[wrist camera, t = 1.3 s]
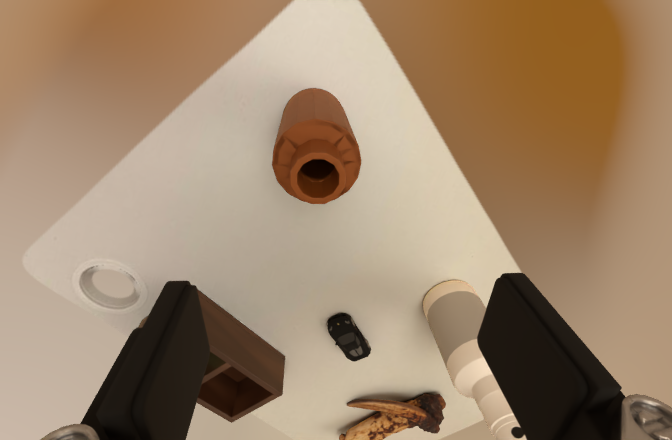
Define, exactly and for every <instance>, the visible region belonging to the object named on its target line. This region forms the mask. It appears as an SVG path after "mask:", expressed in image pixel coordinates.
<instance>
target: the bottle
mask: <svg viewBox="0 0 672 440" xmlns="http://www.w3.org/2000/svg"><path fill="white" fill-rule="evenodd" d="M360 166H361V157H360V151H359V146H358V144H357V141H356V139H355V136H354V134H353V131H352V129H351V126H350V124H349V121H348V119H347V116H346V114H345V111H344V109H343V107H342V106H341V104H340V102H339V101H338V100H337V98H336V97H335V96H333V95H332V94H331V93H329V92H327V91H325V90H322V89H317V88H310V89H305V90H302V91H300V92H298V93H297V94H295V95H294V96H293V97H292V98H291V99H290V100H289V102H288V103H287V105H286V107H285V109H284V112H283V115H282V119H281V123H280V127H279V131H278V135H277V139H276V142H275V146H274V151H273V162H272V167H273V170H274V173H275V176H276V178H277V181H278V183H279V184H280V185H281V186H282V187H283V188H284V189H285V191H286V192H287V193H289V194H290V195H292V196H294V197H296V198H298V199H299V200H301V201H304V202H308V203H311V204H325V203H327V202H329V201H331V200H335V199H337V198H338V197H340V196H341V195H343V194H344V193H346V192H347V191H348V190H349V189H350V188H351V187H352V185H353V184H354V182H355V181H356V179H357V178H358V175H359V170H360Z"/></svg>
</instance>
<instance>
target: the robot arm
mask: <svg viewBox="0 0 672 440" xmlns="http://www.w3.org/2000/svg"><path fill="white" fill-rule="evenodd" d="M477 343H478V347H479V349H480V351H481V353H482V355H483V357H484V359H485V360H486V362H487V364H488V366H489V368H490V370H491V372H492V374H493V376H494V378H495V380H496V381H497V383H498V385H499V387H500V389H501V391H502V393H503V395H504V397H505V399H506V401H507V402H508V404H509V406H510V408H511V410H512V412H513V414H514V416H515V418H516V420H517V422H518V424H519V425H520V427H521V429H522V431H523V433H524V435H525V437H526V439H527V440H672V408H671V407H670V406H668V405H666V404H664V403H662V402H661V401H659V400H656V399H654V398H651V397H648V396H645V395H638V394H635V395H629V396H627V397H625V396H624V395H623V393H622V392H621V391H620V390H621V386H620V385H619V384H618V383H617V382H616V380H615V379H614V378H613V377H612V376H611V374H610V373H609V372H608V371H607V370H606V369H605V367H604V366H603V365H602V364H601V363H600V362H599V360H598V359H597V358H596V357H595V356H594V354H592V352H591V351H590V350H589V349H588V348H587V346H586V345H585V344H584V343H583V342H582V340H581V339H580V338H579V337H578V336H577V335H576V334H575V332H574V331H573V330H572V329H571V328H570V327H569V325H568V324H567V323H566V322H565V321H564V320H563V318H562V317H561V316H560V315H559V314H558V313H557V311H556V310H555V309H554V308H553V307H552V305H551V304H550V303H549V302H548V301H547V299H546V298H545V297H544V296H543V295H542V294H541V293H540V291H539V290H538V289H537V288H536V287H535V286H534V284H533V283H532V282H531V281H530V280H529V278H528V277H527V276H526V275H525V274H523V273H505V274H502V275H501V277H500V278H498V279H497V280H496V282H495V284H494V288H493V291H492V294H491V297H490V300H489V303H488V306H487V309H486V312H485V315H484V318H483V321H482V324H481V327H480V330H479V333H478V336H477ZM209 356H210V345H209V341H208V336H207V332H206V327H205V323H204V318H203V314H202V309H201V305H200V300H199V296H198V291H197V288H196V286H191V284H190V282H189V281H168V282H167V283H166V284H165V286H164V288H163V290H162V292H161V293H160V295H159V297H158V299H157V301H156V303H155V305H154V307H153V308H152V310H151V312H150V314H149V316H148V318H147V320H146V321H145V323H144V325H143V327H140V328H136V329H135V330H133V332H132V333H131V334H130V336H129V338H128V340H127V341H126V343H125V345H124V347H123V348H122V350H121V352H120V354H119V356H118V357H117V359H116V361H115V363H114V365H113V366H112V368H111V370H110V372H109V374H108V375H107V377H106V379H105V381H104V382H103V384H102V386H101V388H100V390H99V391H98V393H97V395H96V397H95V398H94V400H93V402H92V404H91V406H90V407H89V409H88V411H87V413H86V415H85V416H84V418H83V420H82V422H81V423H80V424H73V425H69V426H65V427H62V428H59V429H57V430H55V431H53V432H51V433H49V434H48V435H46V436H45V437H44V438H42V439H41V440H186V436H187V433H188V429H189V426H190V423H191V419H192V416H193V412H194V409H195V405H196V402H197V398H198V395H199V391H200V388H201V384H202V381H203V378H204V374H205V371H206V367H207V364H208V360H209Z"/></svg>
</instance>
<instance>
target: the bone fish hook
mask: <svg viewBox="0 0 672 440" xmlns="http://www.w3.org/2000/svg"><path fill="white" fill-rule="evenodd" d="M347 406H349V407H357V408H363V409H370V410H376V411H382V412H379V413H377V414H375V415H373V416H371V417H369V418H368V419H366V420H364V421H362V422H360V423H359V424H357V425H356V426H354V427H352V428H350V429H349V430H347V432H346V435H345V434H341V435H340V437H339V440H382V439H384V438H385V437H387V436H389V435H391V434H393V433H397V432H400V431H402V430H404V429H406V428H413V427H415V426H419V428H421V429H423V430H424V431H427V432H431V433H438V432H439V430H440V428H439V425H440V424H441V422H442V420H443V419H444V417H443V414H442V410H443V409H444V408H445V406H446V403H445V401H444V399H443V398H442V396H441V395H440V394H437V395H433V394H432V395H429V394H426V393H424V394H423V395H422V396H419V397H418V398H416V399H415V400H409V401H407V402H404V403H403V402H398V401H392V400H380V399H358V400H354V401H351V402H349V403H348V404H347Z"/></svg>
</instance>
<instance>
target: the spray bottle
mask: <svg viewBox="0 0 672 440" xmlns="http://www.w3.org/2000/svg"><path fill="white" fill-rule="evenodd" d="M423 309H424V313H425V315H426V318H427V320H428V323H429V325H430V328H431V330H432V333H433V335H434V338H435V340H436V343H437V345H438V348H439V350H440V353H441V355H442V358H443V360H444V363H445V365H446V368H447V370H448V373H449V375H450V378H451V380H452V383H453V385H454V387H455V388H456V389H457V391H458V392H459V393H460V394H462V395H464V396H466V397H469V398H474V399H475V401H476V403H477V405H478V407H479V409H480V411H481V412H482V414H483V416H484V419H485V420H486V423H487V425H488V427H489V430H490V432H491V433H492V435H494V437H495V438H496V440H527V439H526V437H525V435H524V433H523V431H522V429H521V427H520V425H519V424H518V422H517V420H516V418H515V416H514V414H513V412H512V410H511V408H510V406H509V404H508V402H507V401H506V399H505V397H504V395H503V393H502V391H501V389H500V387H499V385H498V383H497V381H496V380H495V378H494V376H493V374H492V372H491V370H490V368H489V366H488V364H487V362H486V360H485V359H484V357H483V355H482V353H481V351H480V349H479V347H478V343H477V336H478V333H479V330H480V327H481V324H482V321H483V318H484V315H485V312H486V308H485V306H484V304H483V303H482V301H481V300H480V298H479V296H478V295H477V293H476V291H475V290H474V288H473V287H472V286H470V285H469V284H468V283H466V282H462V281H459V280H450V281H446V282H442V283H440V284H438V285H436V286H434V287H433V288H432V289H431V290H430V291H429V292H428V293H427V295H426V296H425V298H424V302H423Z"/></svg>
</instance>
